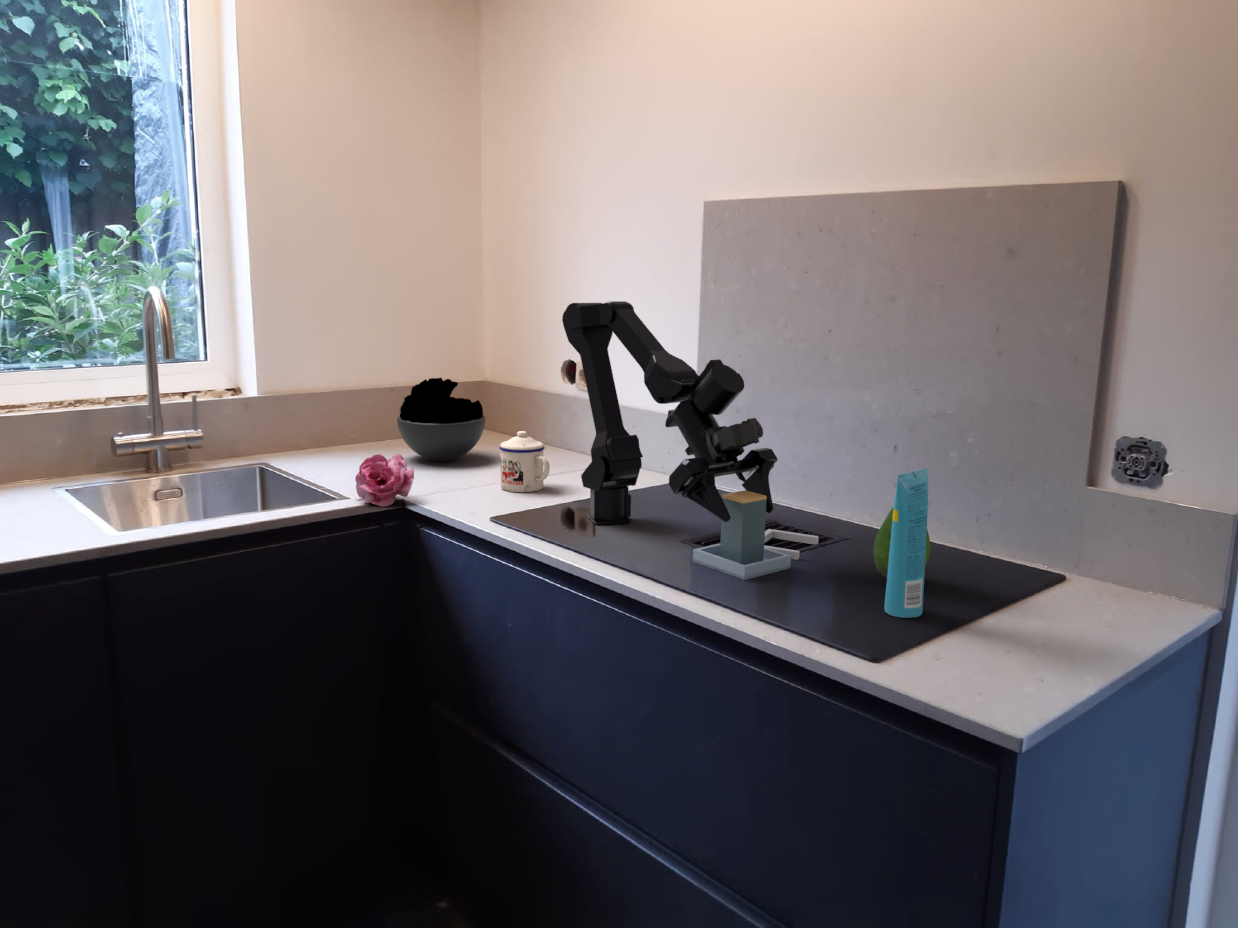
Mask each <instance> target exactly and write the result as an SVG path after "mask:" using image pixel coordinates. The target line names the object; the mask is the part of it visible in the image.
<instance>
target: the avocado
mask: <svg viewBox="0 0 1238 928" xmlns="http://www.w3.org/2000/svg"><path fill="white" fill-rule="evenodd" d="M893 509H894V506H893V507H892V508H891V509H890V510H889V512H888V514H887V515H886V517H885V519H884V521H883V522H882V524H881V525H880V527H879V529H878V532H877V534H876V536H875V538H874V544H873V548H872V555H873V561H874V562H873V563H874V566H875V567H876V570H877V571H878V573H879V574H881V575H882V576H883V577H884V578H886V579H887V574H888V563H889V552H890V541H891V530H892V519H893ZM928 531H929V530H928V529H927V535H926V555H925V567H926V566H927V565H928V564H927V563H928V561H929V558H930V555H931V541H930V540H931V539H930V535H929V532H928Z"/></svg>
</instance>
